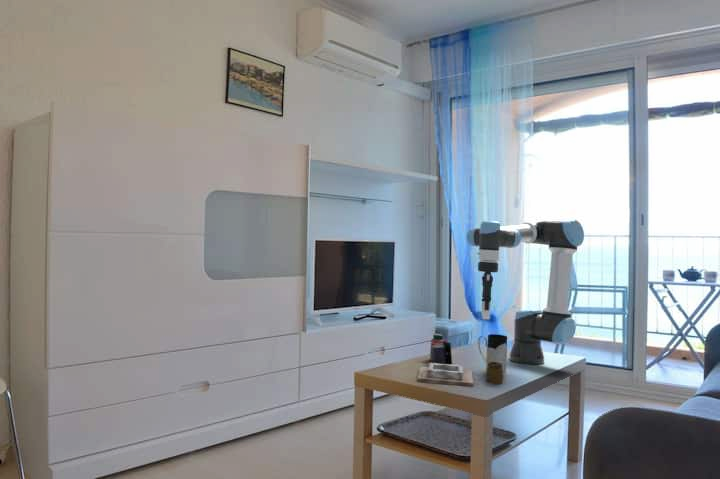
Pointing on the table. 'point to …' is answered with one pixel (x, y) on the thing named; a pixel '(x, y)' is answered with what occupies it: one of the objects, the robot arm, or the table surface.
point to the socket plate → (445, 374)
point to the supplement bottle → (436, 342)
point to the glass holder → (496, 350)
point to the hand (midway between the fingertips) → (485, 317)
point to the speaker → (442, 353)
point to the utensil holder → (494, 371)
